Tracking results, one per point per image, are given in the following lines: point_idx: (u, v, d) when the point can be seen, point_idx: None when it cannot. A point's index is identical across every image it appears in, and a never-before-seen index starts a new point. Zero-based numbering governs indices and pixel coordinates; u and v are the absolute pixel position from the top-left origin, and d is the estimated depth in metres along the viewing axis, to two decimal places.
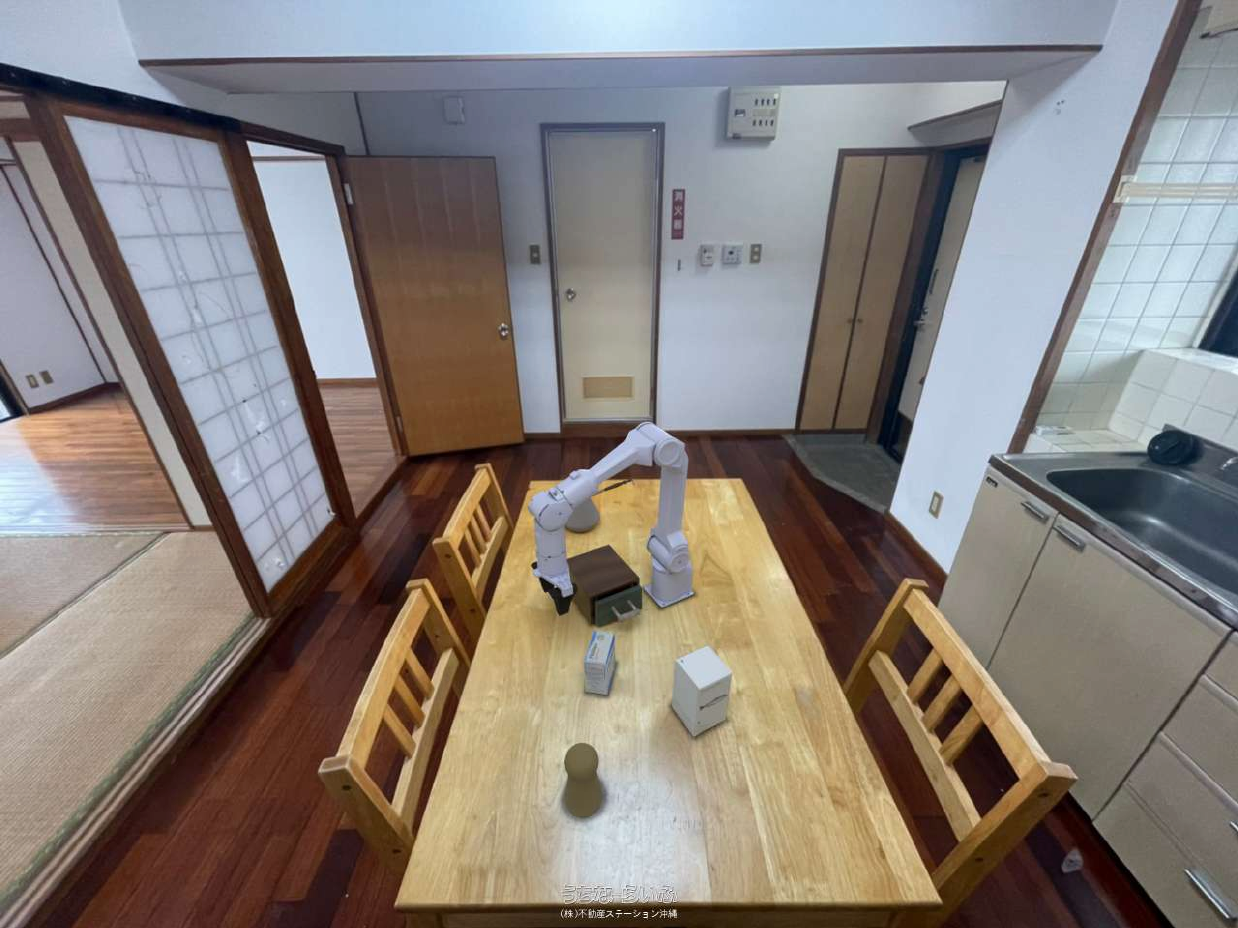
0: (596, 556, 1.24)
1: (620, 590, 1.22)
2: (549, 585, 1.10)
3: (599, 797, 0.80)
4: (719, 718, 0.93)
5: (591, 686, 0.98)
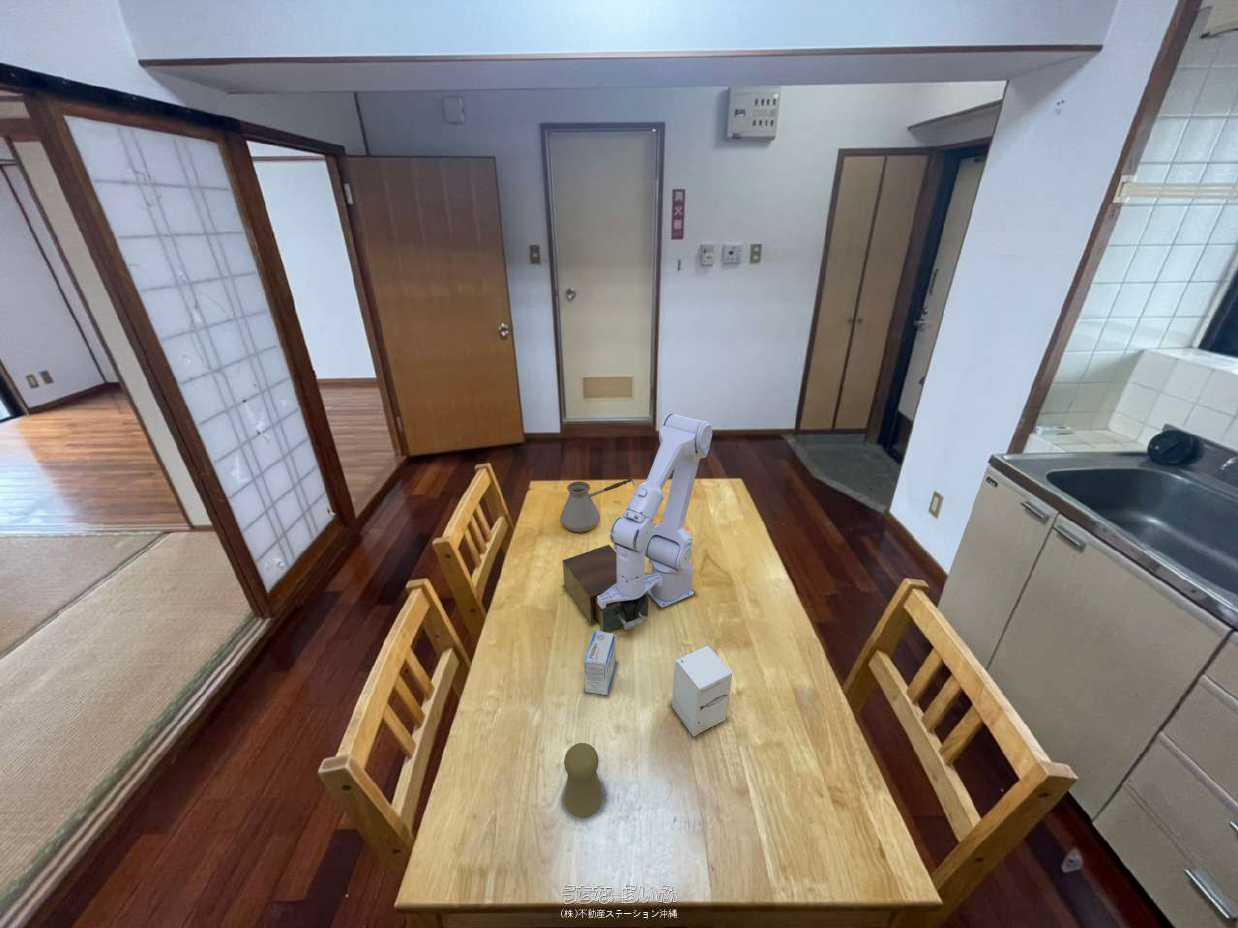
0: (596, 556, 1.24)
1: None
2: None
3: (599, 797, 0.80)
4: (719, 718, 0.93)
5: (591, 686, 0.98)
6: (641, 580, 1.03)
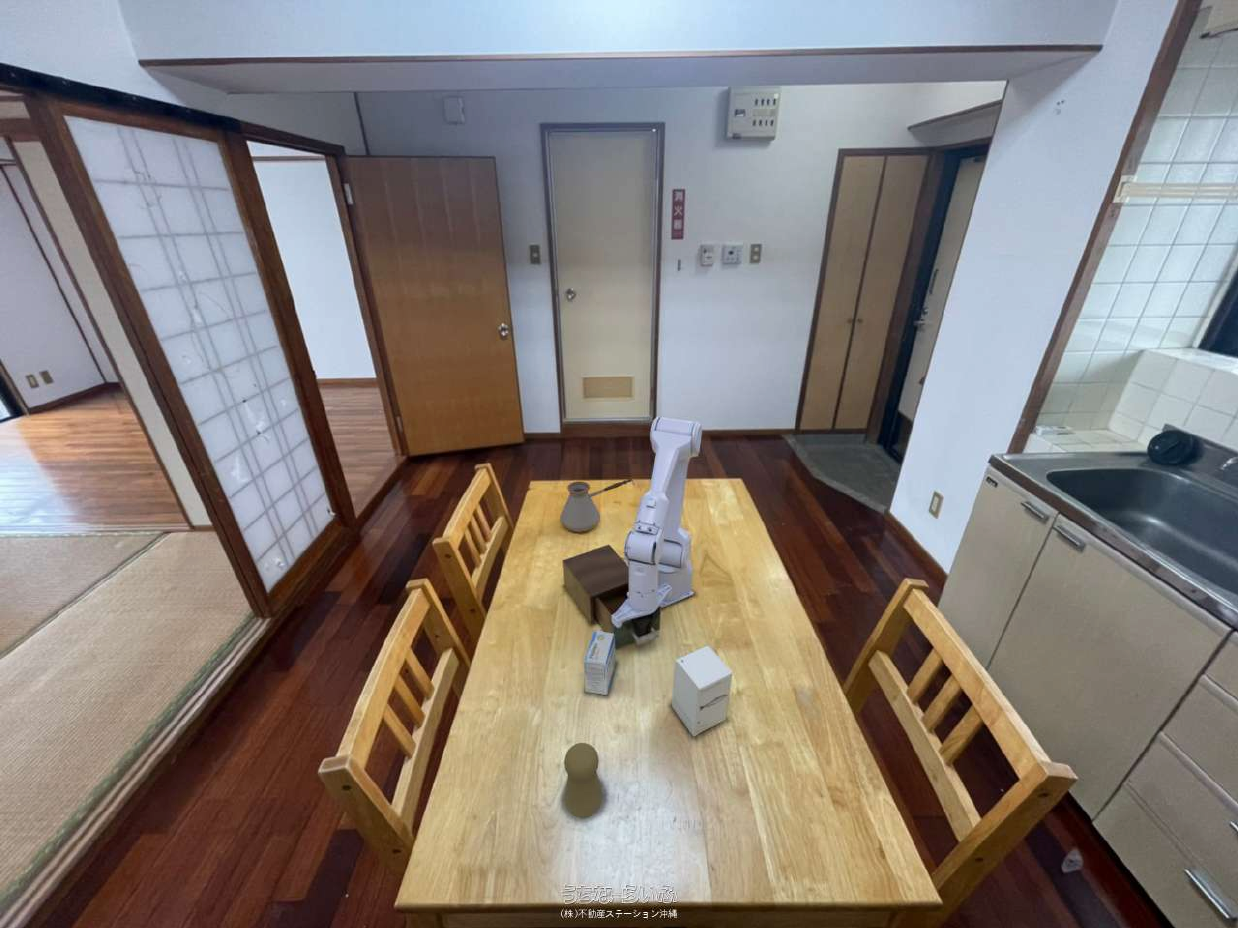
0: (596, 556, 1.24)
1: None
2: None
3: (599, 797, 0.80)
4: (719, 718, 0.93)
5: (591, 686, 0.98)
6: (655, 593, 1.00)
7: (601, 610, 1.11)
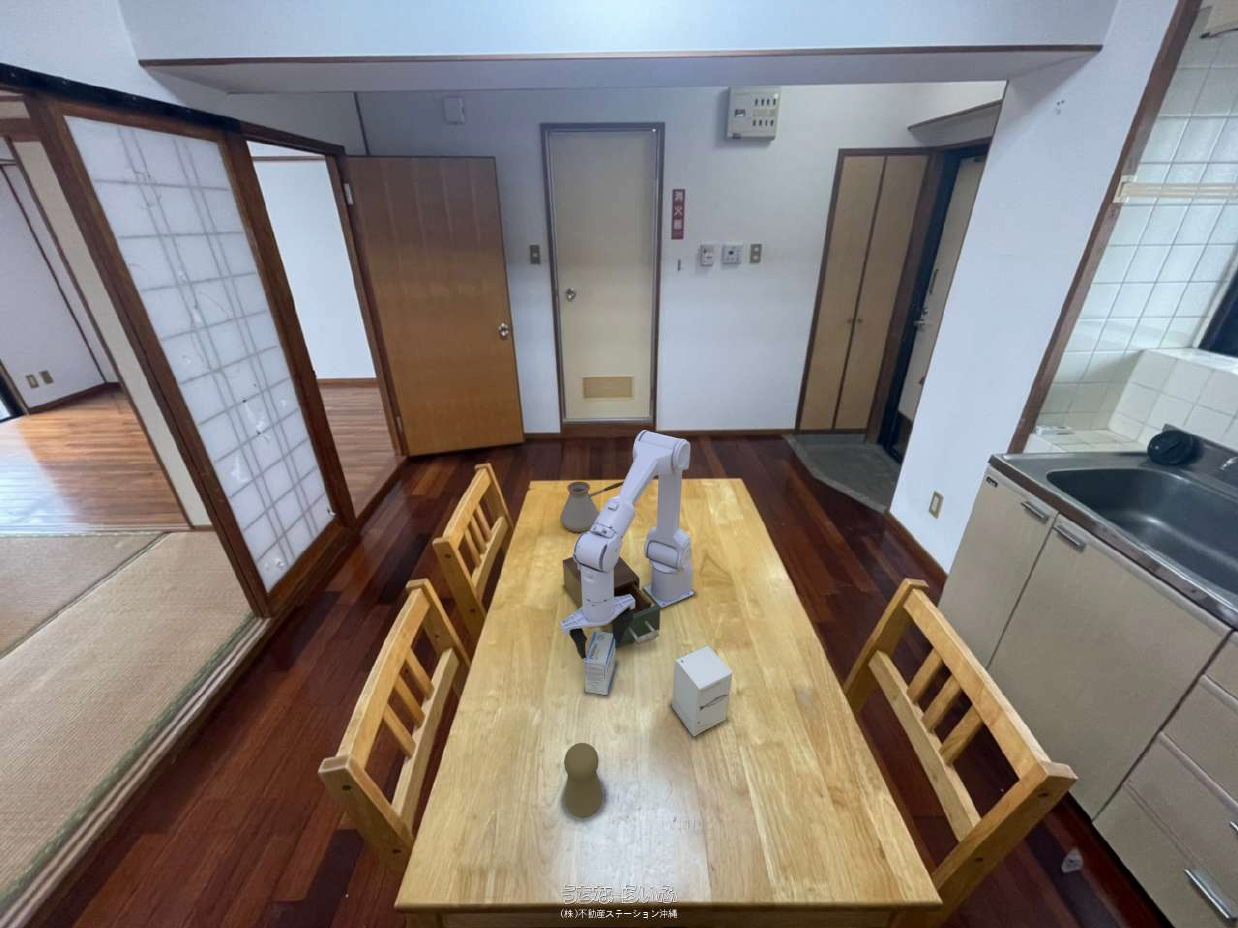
0: None
1: (636, 609, 1.17)
2: (616, 635, 0.99)
3: (599, 797, 0.80)
4: (719, 718, 0.93)
5: (591, 686, 0.98)
6: (609, 603, 0.91)
7: None
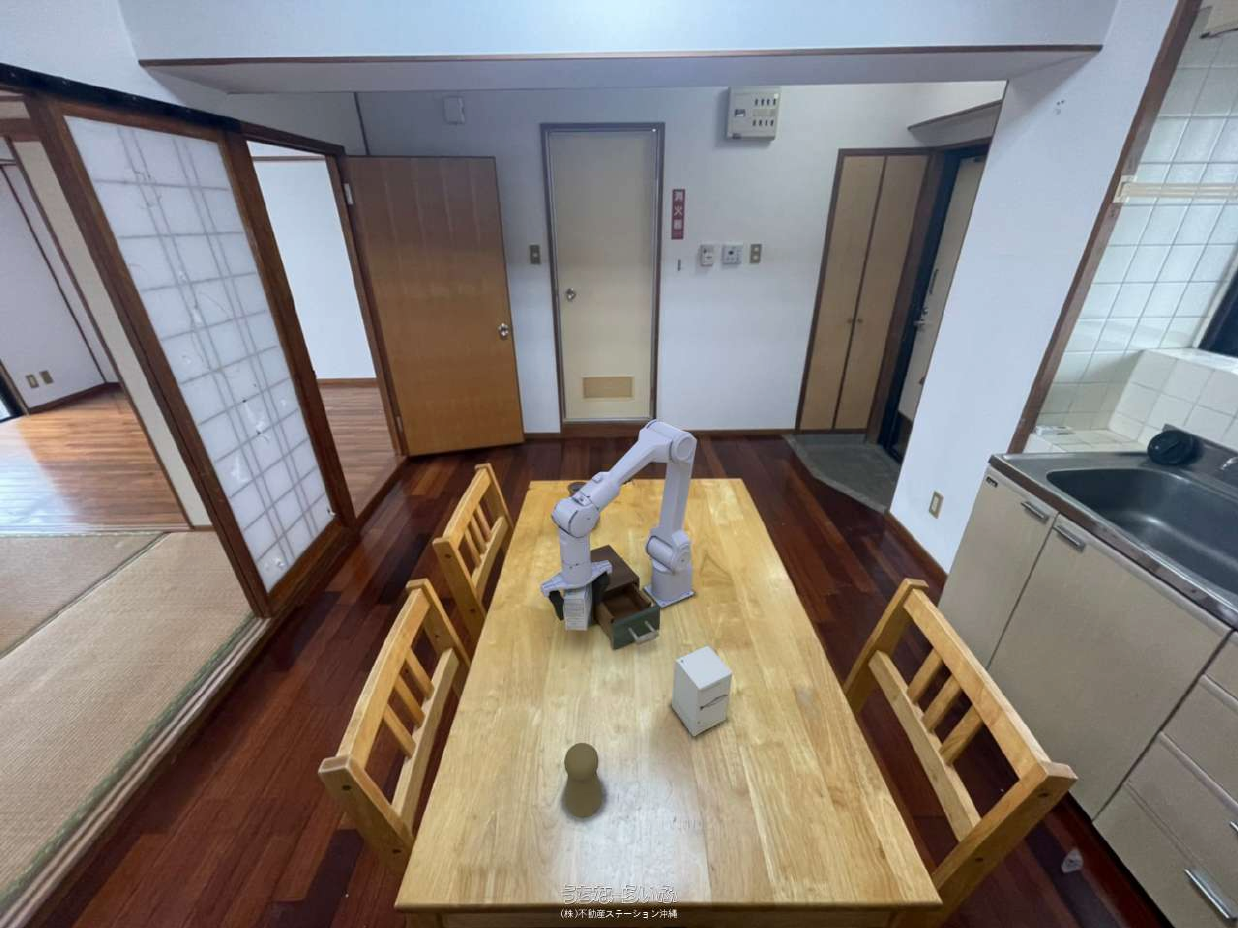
0: (596, 556, 1.24)
1: (636, 609, 1.17)
2: (595, 598, 1.06)
3: (599, 797, 0.80)
4: (719, 718, 0.93)
5: (570, 622, 1.02)
6: (586, 566, 0.97)
7: (601, 610, 1.11)
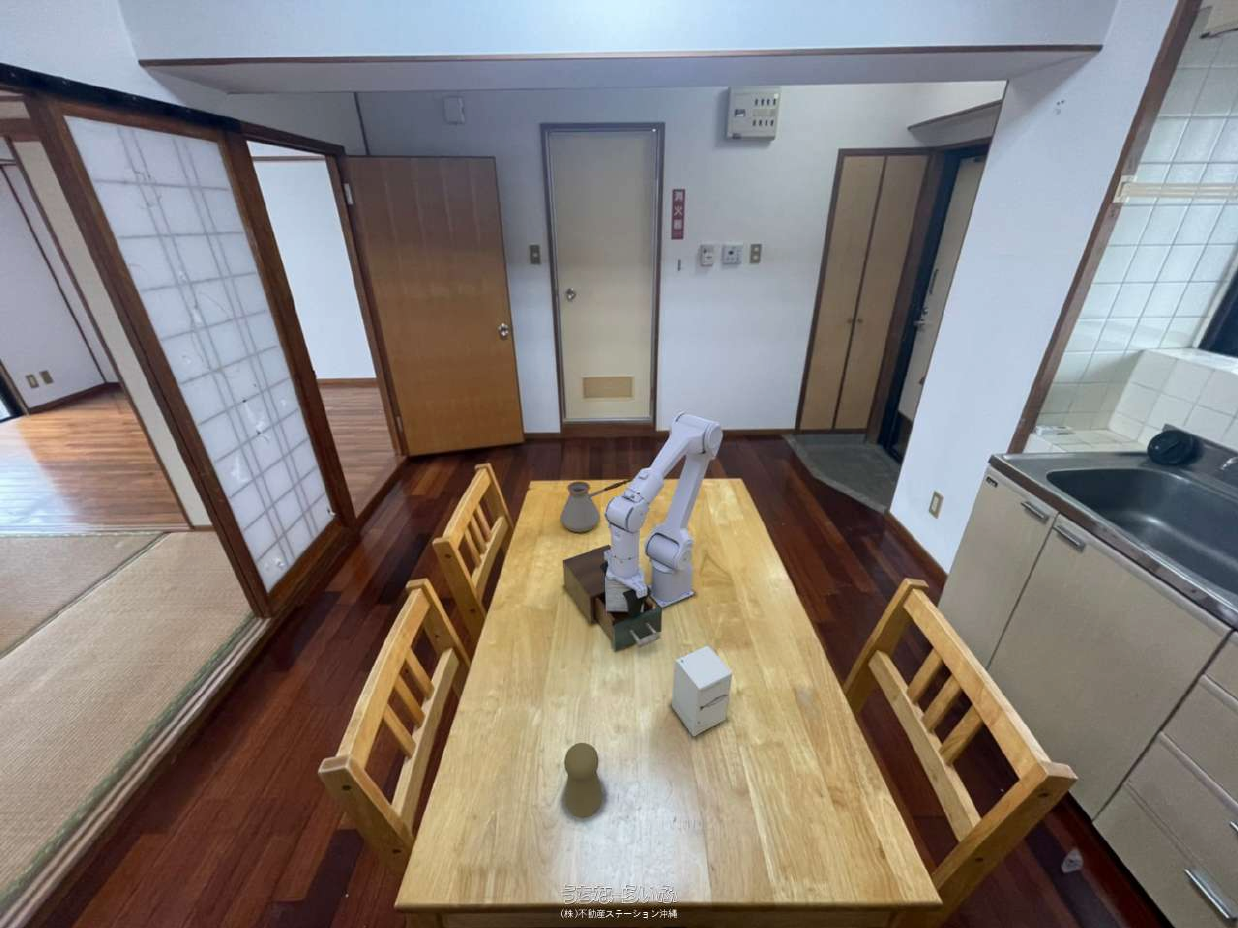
0: (596, 556, 1.24)
1: None
2: None
3: (599, 797, 0.80)
4: (719, 718, 0.93)
5: None
6: None
7: (602, 612, 1.10)
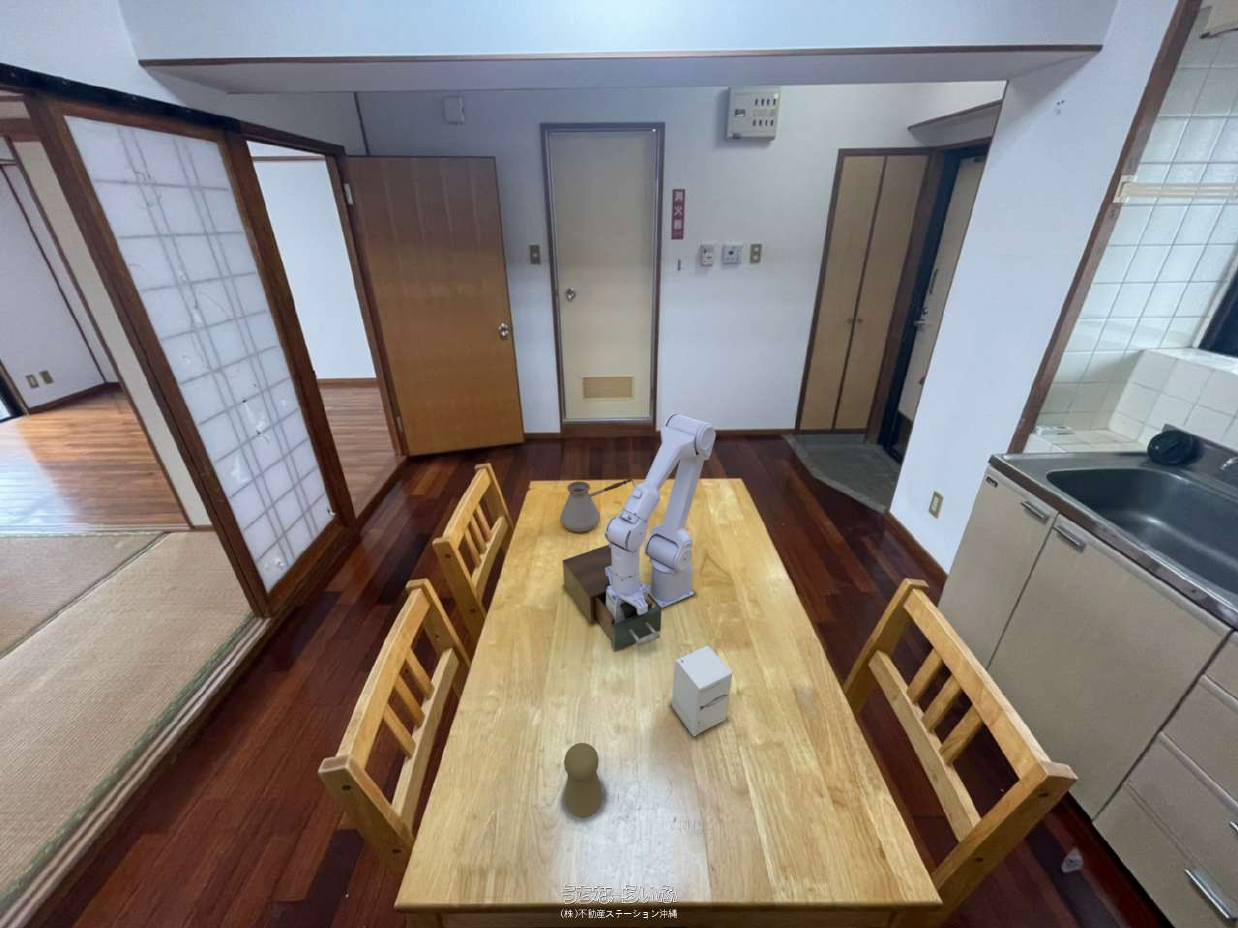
0: (596, 556, 1.24)
1: None
2: None
3: (599, 797, 0.80)
4: (719, 718, 0.93)
5: None
6: None
7: (602, 611, 1.11)
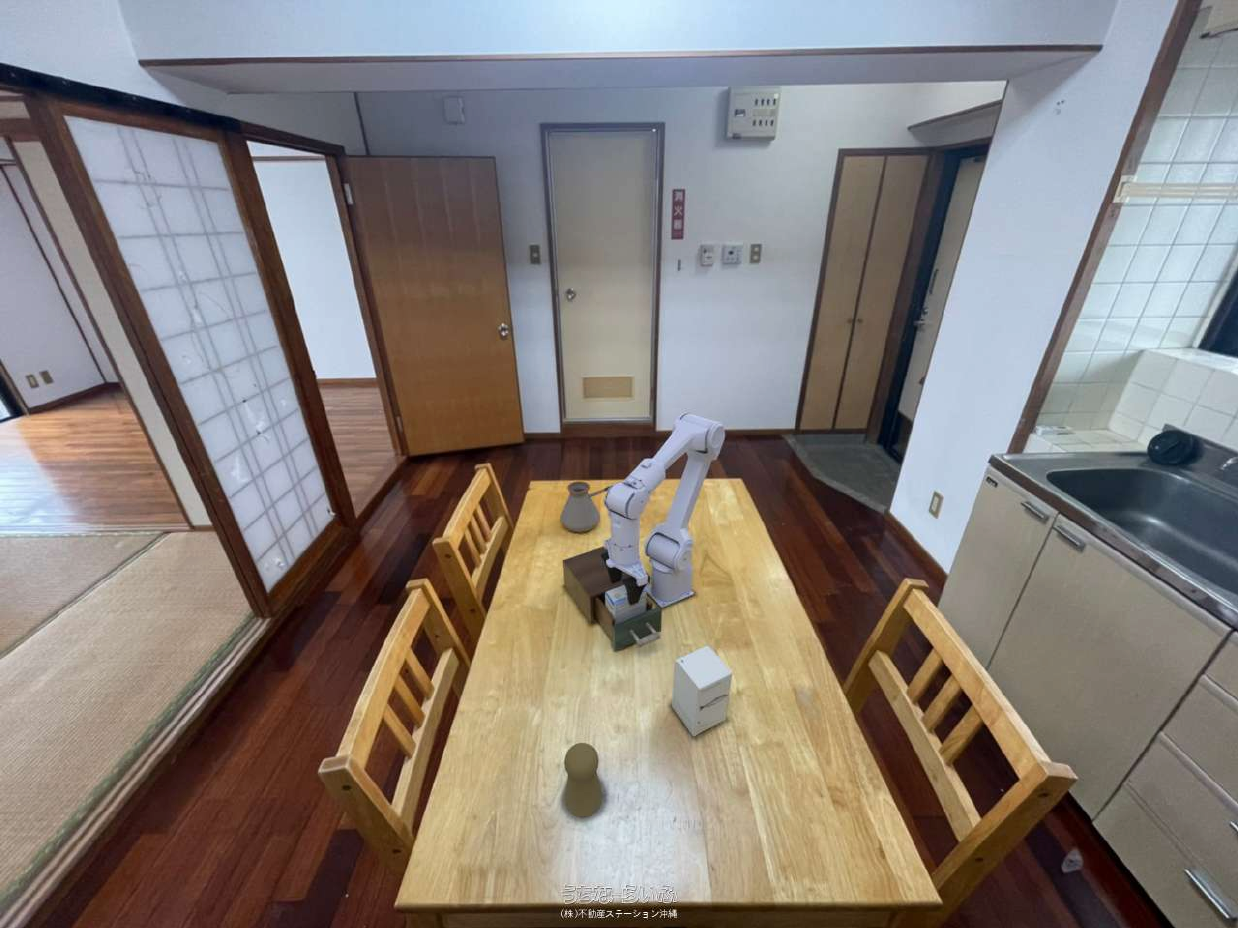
0: (596, 556, 1.24)
1: None
2: (617, 576, 1.12)
3: (599, 797, 0.80)
4: (719, 718, 0.93)
5: None
6: None
7: (602, 611, 1.10)
